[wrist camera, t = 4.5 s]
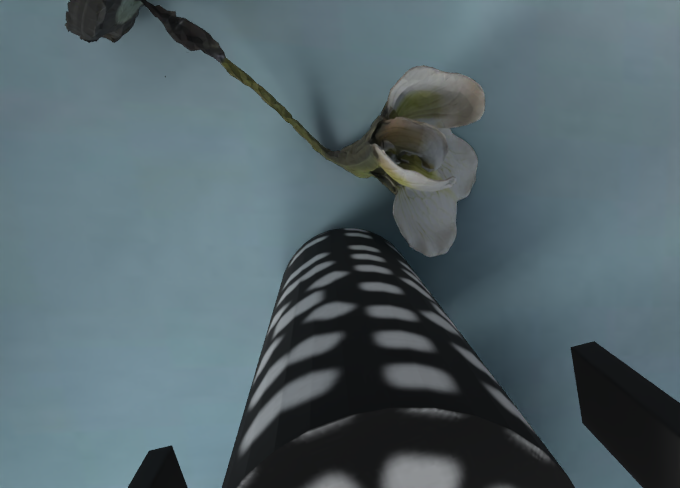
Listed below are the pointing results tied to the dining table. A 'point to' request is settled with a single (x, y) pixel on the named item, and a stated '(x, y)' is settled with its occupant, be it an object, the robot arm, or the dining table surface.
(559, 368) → the dining table surface
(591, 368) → the robot arm
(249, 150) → the dining table surface
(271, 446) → the spotted tube
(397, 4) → the dining table surface
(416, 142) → the artificial flower
